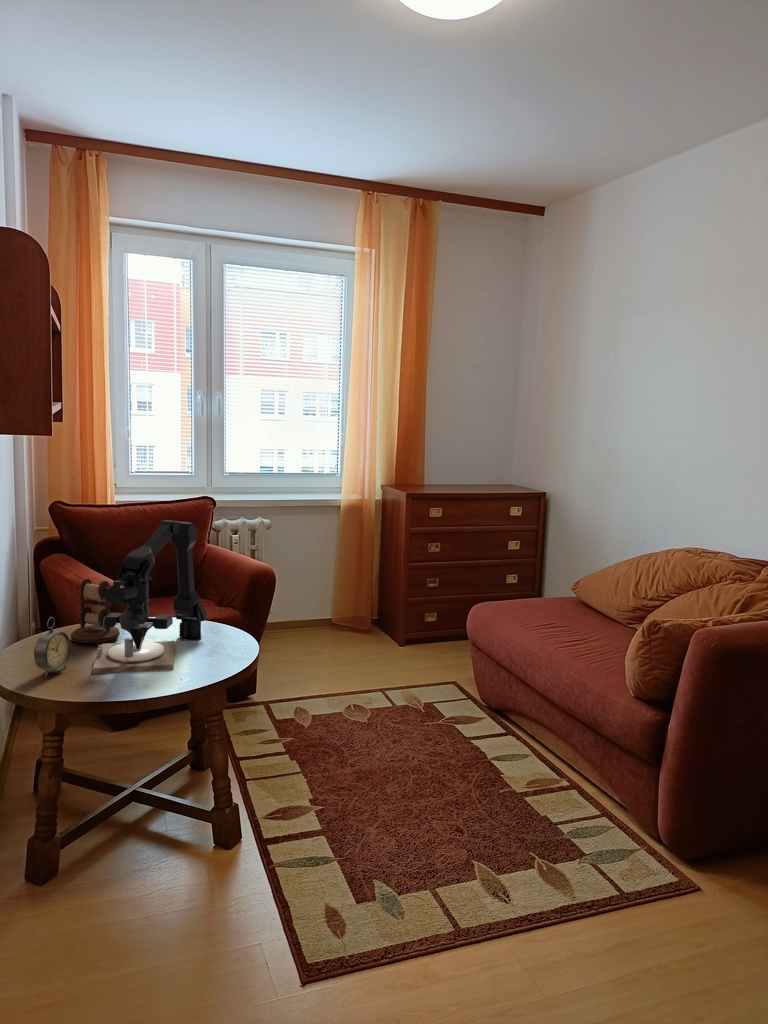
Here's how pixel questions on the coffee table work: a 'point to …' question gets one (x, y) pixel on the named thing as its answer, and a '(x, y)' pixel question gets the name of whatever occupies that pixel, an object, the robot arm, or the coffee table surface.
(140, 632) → the robot arm
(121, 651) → the dial
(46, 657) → the alarm clock
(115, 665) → the stand plate
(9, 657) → the coffee table surface
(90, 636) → the wooden thread spool stand
